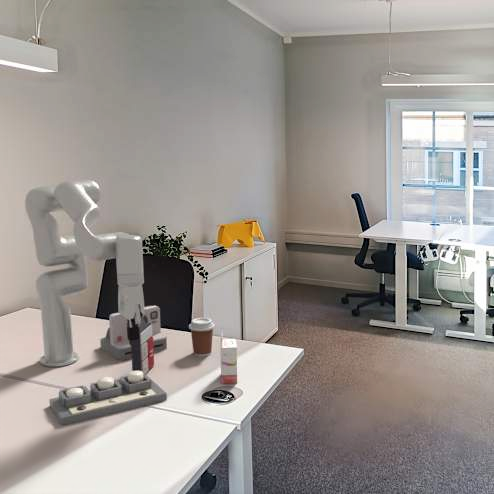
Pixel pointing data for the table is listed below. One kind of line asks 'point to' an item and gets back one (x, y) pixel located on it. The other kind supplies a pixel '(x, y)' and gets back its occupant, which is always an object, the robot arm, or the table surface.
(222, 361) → the ink cartridge box
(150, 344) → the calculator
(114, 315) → the instant camera
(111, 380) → the button
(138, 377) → the button
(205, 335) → the coffee cup
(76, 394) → the button
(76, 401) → the switch panel
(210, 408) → the table surface
